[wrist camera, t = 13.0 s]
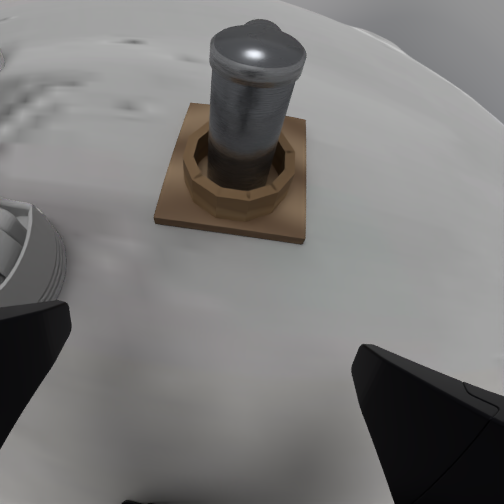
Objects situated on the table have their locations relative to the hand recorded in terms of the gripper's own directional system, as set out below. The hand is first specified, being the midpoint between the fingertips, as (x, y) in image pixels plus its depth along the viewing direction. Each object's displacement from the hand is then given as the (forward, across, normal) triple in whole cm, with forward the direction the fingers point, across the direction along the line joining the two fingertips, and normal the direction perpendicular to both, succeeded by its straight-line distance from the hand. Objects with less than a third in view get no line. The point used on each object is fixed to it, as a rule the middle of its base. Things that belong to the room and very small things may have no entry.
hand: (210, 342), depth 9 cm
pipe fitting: (+21, 0, +3) cm, 21 cm away
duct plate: (+22, 0, +3) cm, 22 cm away
